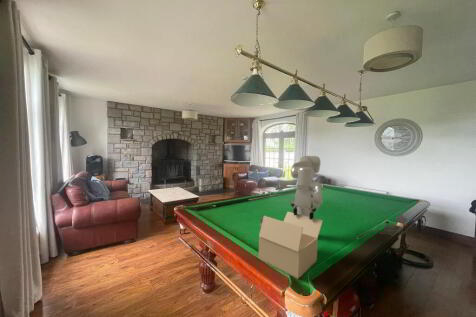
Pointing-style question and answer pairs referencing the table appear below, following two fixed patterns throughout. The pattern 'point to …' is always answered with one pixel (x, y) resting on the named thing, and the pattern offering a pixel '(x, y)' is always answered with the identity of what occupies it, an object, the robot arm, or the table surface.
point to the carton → (289, 255)
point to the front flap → (281, 233)
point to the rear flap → (305, 223)
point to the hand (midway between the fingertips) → (303, 216)
